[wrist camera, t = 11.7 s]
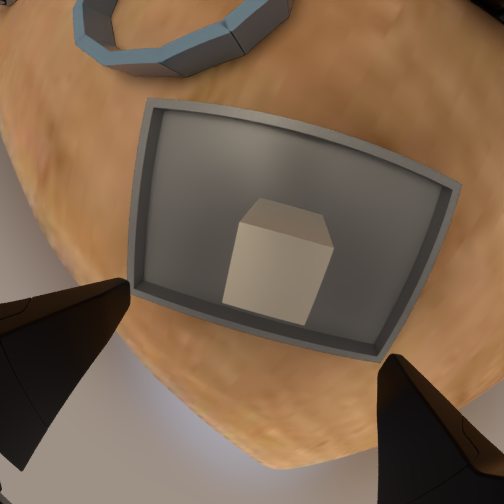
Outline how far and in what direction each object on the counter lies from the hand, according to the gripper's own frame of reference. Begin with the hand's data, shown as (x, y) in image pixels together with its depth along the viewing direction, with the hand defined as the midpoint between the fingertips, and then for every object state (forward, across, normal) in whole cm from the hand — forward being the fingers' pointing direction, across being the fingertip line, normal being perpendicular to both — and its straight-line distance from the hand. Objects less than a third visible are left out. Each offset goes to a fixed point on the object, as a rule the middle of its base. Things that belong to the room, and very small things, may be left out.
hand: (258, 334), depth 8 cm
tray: (+11, 0, 0) cm, 11 cm away
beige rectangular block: (+10, 0, 0) cm, 10 cm away
